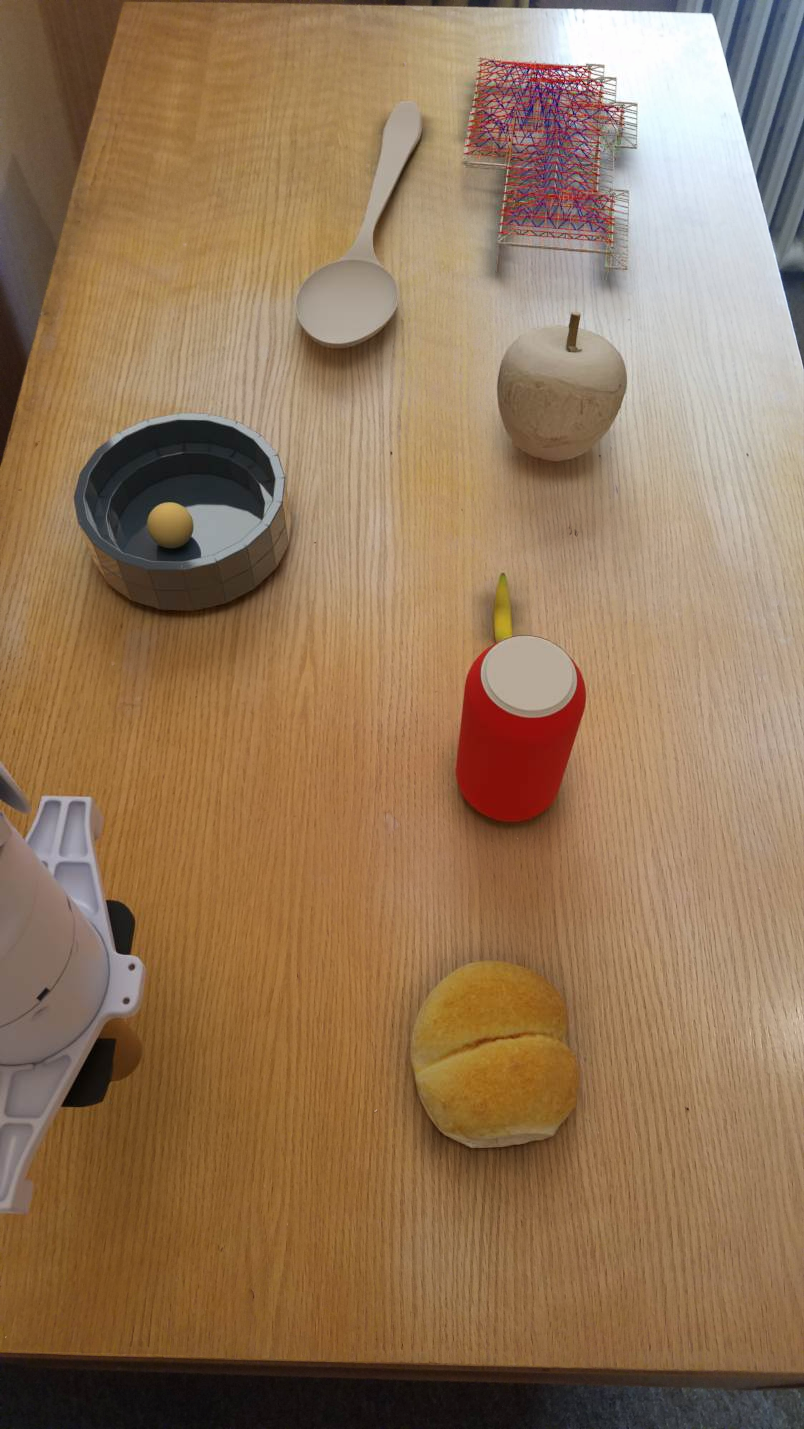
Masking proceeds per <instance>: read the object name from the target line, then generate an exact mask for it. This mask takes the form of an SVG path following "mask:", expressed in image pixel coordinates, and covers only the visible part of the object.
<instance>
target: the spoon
mask: <svg viewBox="0 0 804 1429" xmlns="http://www.w3.org/2000/svg"><path fill="white" fill-rule="evenodd" d="M421 115H422V114H421V111H420V107H419V105H418V104H417V102H415V101H412V100H402V101H399V102H398V103H397V104H396V105H395V106H394V108H393V110H392V111H391V113H390V115H389V117H388V118H387V121H386V123H385V126H384V128H383V131H382V136H381V137H382V138H381V149H380V150H381V151H380V155H379V160H378V164H377V167H376V171H375V176H374V179H373V182H372V187H371V190H370V194H369V198H368V202H367V207H366V211H365V214H364V218H363V220H362V224H361V226H360V229H359V232H358V234H357V236H356V238H355V240H354V242H353V243H352V245H351V246H350V247H349V249H348V250H347V251H346V252H345V253H344V254H343V255H342V256H341V257H340V258H338V259H336V260H335V261H332V262H329V263H327V264H324V265H322V266H320V267H319V268H316V269H315V270H314V271H313V272H311V273H309V275H307V277H306V278H305V279H304V280H303V282H302V283H301V284H300V286H299V288H298V290H297V292H296V295H295V299H294V311H295V315H296V317H297V320H298V322H299V323H300V326H301V328H302V330H303V331H304V332H305V333H306V335H307V336H309V337H310V339H312V340H313V341H314V342H316V343H317V344H319V345H321V346H324V347H326V348H331V349H344V348H345V349H346V348H350V347H354V346H356V345H359V344H361V343H364V342H366V341H368V340H369V339H371V338H372V337H374V336H375V335H376V334H378V333H379V332H380V331H382V330H383V328H384V327H385V326H386V325H387V324H388V323H389V322H390V320H391V319H392V317H393V316H394V314H395V312H396V310H397V306H398V302H399V295H400V294H399V293H400V292H399V285H398V283H397V280H396V279H395V277H394V275H393V274H392V273H391V272H390V271H389V270H388V269H387V268H386V267H384V266H383V265H382V264H381V262H380V261H379V259H378V257H377V255H376V252H375V249H374V248H375V247H374V241H373V240H374V238H373V237H374V232H375V230H376V227H377V224H378V222H379V220H380V218H381V216H382V214H383V212H384V210H385V208H386V206H387V204H388V202H389V200H390V198H391V195H392V194H393V191H394V189H395V187H396V185H397V183H398V180H399V178H400V177H401V174H402V172H403V170H404V168H405V165H406V164H407V163H408V160H409V159H410V157H411V154H412V153H413V152H414V150H415V148H416V146H417V145H418V143H419V141H420V139H421V137H422V134H423V119H422V116H421Z"/></svg>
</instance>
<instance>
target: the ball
mask: <svg viewBox="0 0 804 1429" xmlns="http://www.w3.org/2000/svg"><path fill="white" fill-rule="evenodd" d="M147 528H148V532H149V535H150V536H151V538H152V539H153V540H154V542H156V543H157V544H158V545H160V546H162V547H165V548H178V547H181V546H183V545H184V544H186V543H187V542H188V541H189V539H190V538H191V536H192V533H193V528H194V524H193V519H192V517H191V515H190V513H189V512H188V511H187V509H185V508H184V507H183V506H181V505H179V504H177V503H171V502H168V503H163V504H160V505H158V506H156V507H155V508H154V509H153V510H152V511H151V513H150V514H149V517H148V521H147Z"/></svg>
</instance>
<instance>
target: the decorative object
mask: <svg viewBox="0 0 804 1429" xmlns="http://www.w3.org/2000/svg"><path fill="white" fill-rule="evenodd" d="M581 315H582V314H581V313H580V311H572V312H571V313H570V316H569V317H570V318H569V323H568V325H545V326H538V327H535V328H531V329H529V330H527V331H525V332H523V333H521V334H520V335H519V336H518V337H517V338H515V340H514V341H512V342H511V344H510V345H509V347H508V348H507V349H506V351H505V353H504V354H503V357H502V358H501V362H500V366H499V371H498V376H497V385H496V395H497V396H496V397H497V404H498V409H499V414H500V418H501V421H502V425H503V427H504V429H505V431H506V433H507V434H508V436H509V437H510V439H511V440H512V441H513V443H514V444H515V445H516V446H517V447H518V448H519V449H520V450H521V451H523V452H524V453H525V454H527V455H529V456H531V457H535V458H539V459H543V460H546V461H550V462H560V461H561V462H563V461H567V460H571V459H575V458H577V457H579V456H582V455H583V454H585V453H586V452H588V451H589V450H591V449H592V448H593V447H595V445H596V444H598V443H599V442H600V441H601V439H603V437H604V436H606V433H607V432H608V431H609V430H610V428H611V427H612V425H613V423H614V422H615V420H616V418H617V416H618V414H619V413H620V409H621V408H622V404H623V400H624V397H625V395H626V391H627V389H628V387H627V386H628V374H627V369H626V364H625V361H624V359H623V357H622V354H621V353H620V351H619V350H618V349H617V348H616V347H615V346H614V344H612V343H611V342H610V341H609V340H608V339H607V338H605V337H604V336H602V335H600V334H598V333H596V332H593V331H591V330H587V329H585V328H580V327H579V325H580V321H581Z"/></svg>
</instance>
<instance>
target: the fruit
mask: <svg viewBox="0 0 804 1429" xmlns="http://www.w3.org/2000/svg"><path fill="white" fill-rule="evenodd" d="M512 619H513V617H512V604H511V597H510V590H509V584H508V578H507V575H506V573H505V572H501V573H500V574H499V578H498V581H497V585H496V591H495V598H494V606H493V629H494V631H493V632H494V639H495V643H497V642H499V641H502V640H504V639H507V638H510V637H513V636H514V635H513V634H514V633H513V620H512Z"/></svg>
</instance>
